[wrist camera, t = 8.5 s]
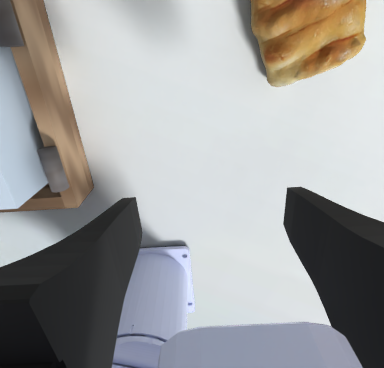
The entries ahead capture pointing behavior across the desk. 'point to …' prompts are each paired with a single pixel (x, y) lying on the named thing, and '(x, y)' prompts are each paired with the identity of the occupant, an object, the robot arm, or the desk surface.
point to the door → (17, 139)
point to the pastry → (306, 36)
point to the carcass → (46, 105)
